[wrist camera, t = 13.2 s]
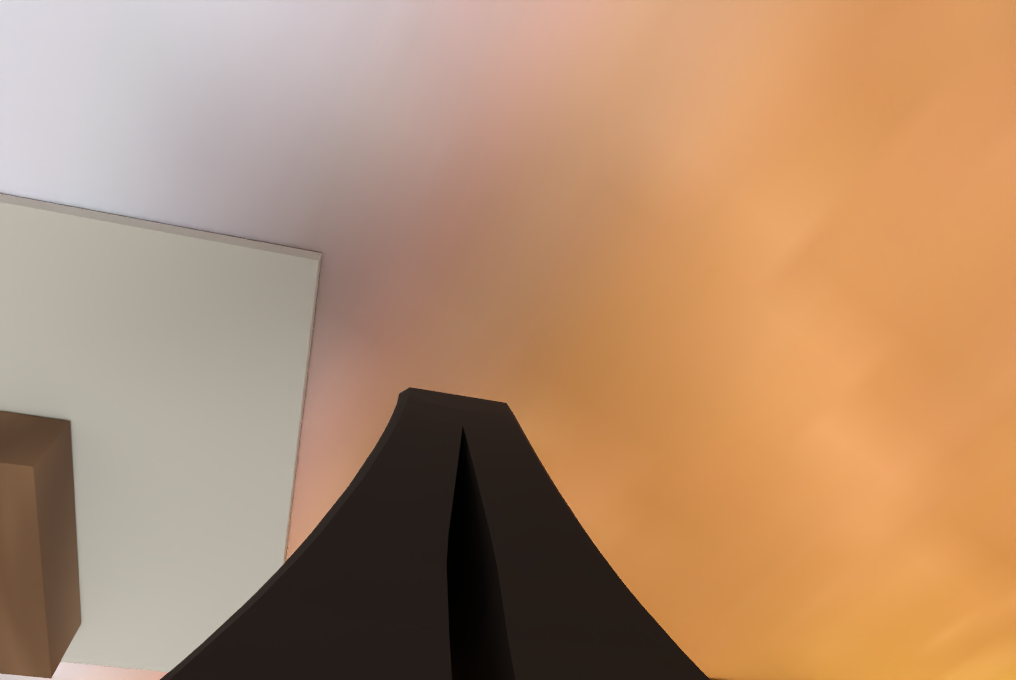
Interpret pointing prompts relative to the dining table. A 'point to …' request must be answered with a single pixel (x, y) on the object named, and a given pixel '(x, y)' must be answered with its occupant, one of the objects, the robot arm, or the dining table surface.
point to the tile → (36, 545)
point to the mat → (160, 411)
